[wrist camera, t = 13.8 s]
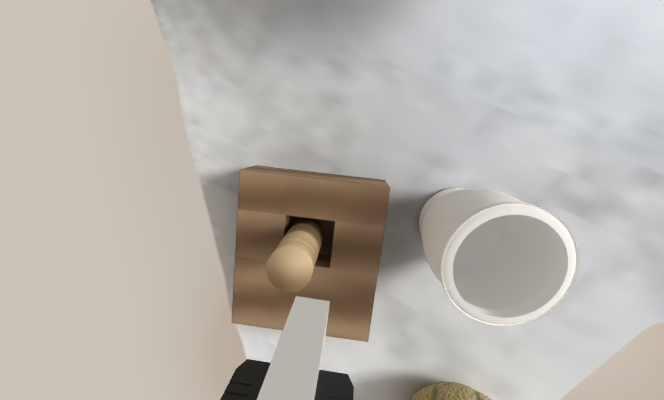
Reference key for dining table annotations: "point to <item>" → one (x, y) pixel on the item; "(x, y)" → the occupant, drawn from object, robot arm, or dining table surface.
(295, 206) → the wooden block with hole
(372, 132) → the dining table surface
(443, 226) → the jar
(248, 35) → the dining table surface
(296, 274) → the peg
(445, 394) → the cantaloupe
